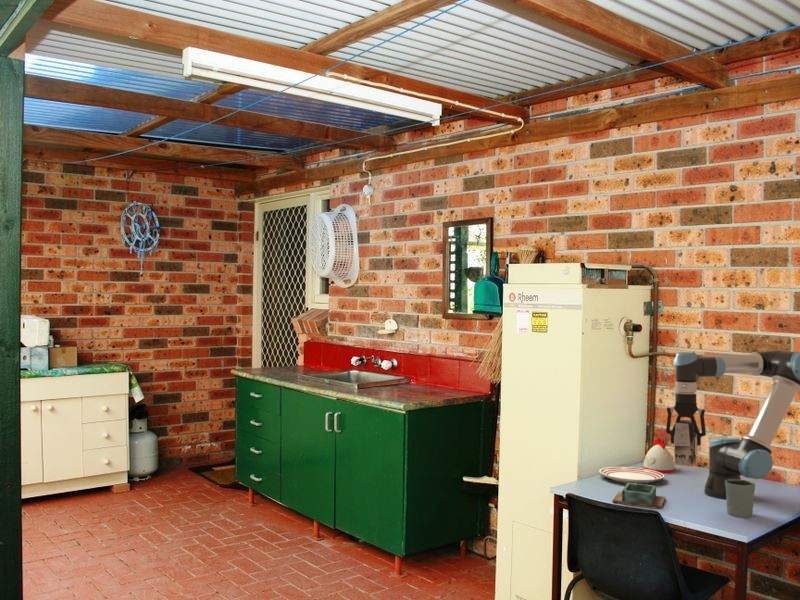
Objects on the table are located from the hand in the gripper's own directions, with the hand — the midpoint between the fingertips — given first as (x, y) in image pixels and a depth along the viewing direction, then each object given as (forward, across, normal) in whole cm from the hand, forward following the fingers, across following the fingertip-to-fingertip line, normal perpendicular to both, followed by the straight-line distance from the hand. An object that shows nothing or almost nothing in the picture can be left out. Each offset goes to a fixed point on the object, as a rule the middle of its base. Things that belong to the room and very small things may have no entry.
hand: (685, 453), depth 282 cm
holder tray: (+21, -17, +2) cm, 27 cm away
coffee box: (+4, 0, 0) cm, 4 cm away
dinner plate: (+21, -25, +38) cm, 50 cm away
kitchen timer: (+21, -16, +62) cm, 67 cm away
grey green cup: (+21, +19, 0) cm, 28 cm away
